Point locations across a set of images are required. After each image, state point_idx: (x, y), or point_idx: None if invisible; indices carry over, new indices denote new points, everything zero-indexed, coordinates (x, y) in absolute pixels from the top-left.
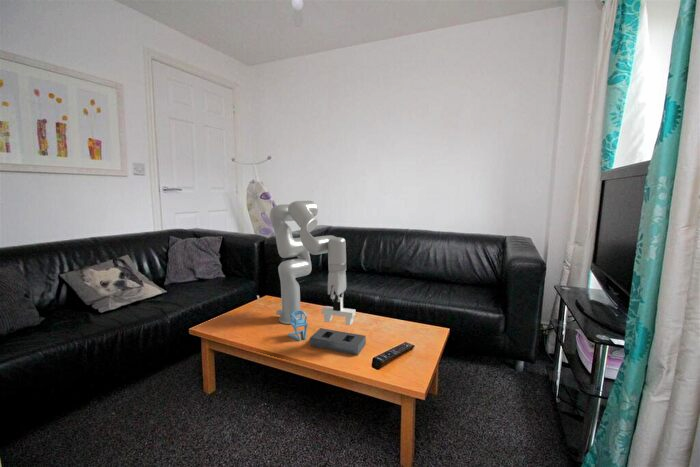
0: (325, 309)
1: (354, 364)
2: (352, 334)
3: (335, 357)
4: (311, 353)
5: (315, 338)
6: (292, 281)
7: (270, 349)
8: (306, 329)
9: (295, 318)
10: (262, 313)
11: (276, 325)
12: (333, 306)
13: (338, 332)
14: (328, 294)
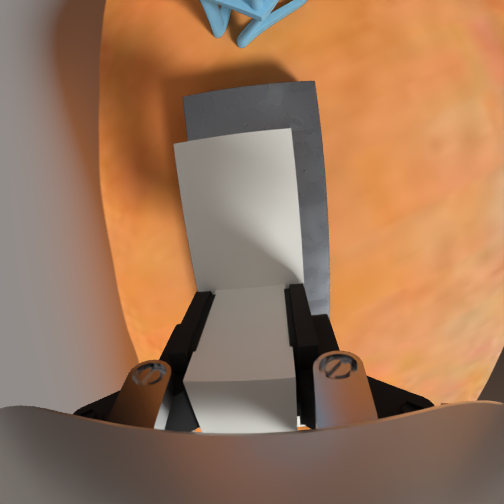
0: (181, 192)
1: (170, 332)
2: (318, 282)
3: (170, 256)
4: (145, 150)
5: (186, 128)
6: None
7: (109, 6)
8: (255, 25)
9: None
10: None
11: None
12: (188, 315)
13: (311, 204)
14: (8, 411)
